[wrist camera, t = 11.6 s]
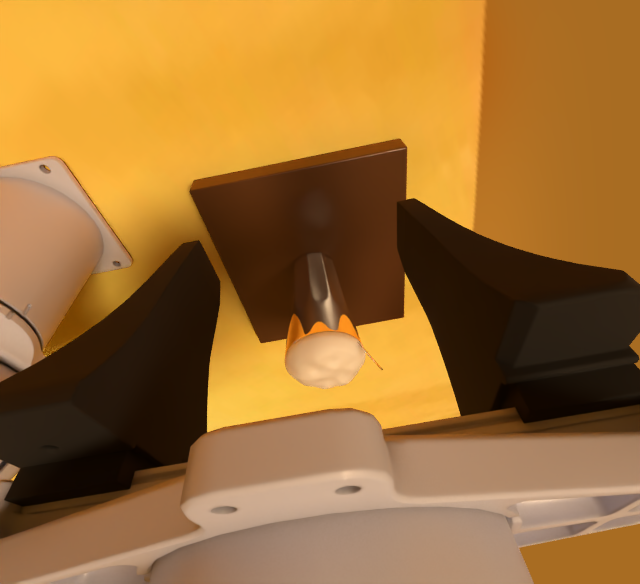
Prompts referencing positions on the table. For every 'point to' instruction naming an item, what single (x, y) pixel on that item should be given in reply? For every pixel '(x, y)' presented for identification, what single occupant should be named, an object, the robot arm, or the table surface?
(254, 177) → the board
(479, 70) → the table surface
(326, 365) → the milkshake
